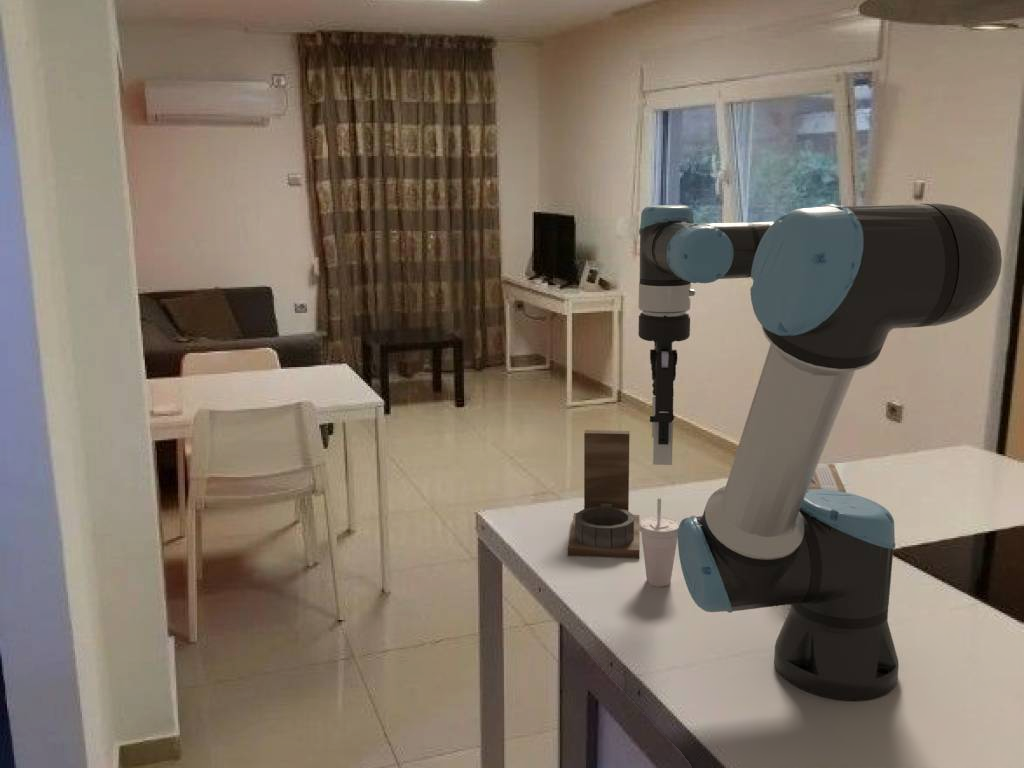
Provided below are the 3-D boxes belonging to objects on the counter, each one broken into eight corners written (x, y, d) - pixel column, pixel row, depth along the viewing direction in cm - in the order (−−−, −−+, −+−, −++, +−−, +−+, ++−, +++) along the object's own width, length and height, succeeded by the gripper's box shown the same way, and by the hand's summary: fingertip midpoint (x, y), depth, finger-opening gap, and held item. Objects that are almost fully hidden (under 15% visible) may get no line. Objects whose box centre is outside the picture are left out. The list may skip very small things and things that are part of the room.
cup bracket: (639, 558, 155) (641, 458, 151) (567, 555, 156) (567, 456, 152) (639, 522, 170) (640, 431, 166) (574, 520, 172) (573, 429, 168)
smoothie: (632, 585, 145) (633, 500, 141) (646, 569, 150) (647, 488, 147) (671, 593, 142) (674, 507, 139) (684, 577, 147) (686, 493, 144)
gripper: (695, 326, 124) (690, 477, 129) (686, 299, 148) (682, 427, 153) (638, 326, 125) (636, 476, 130) (638, 299, 149) (636, 426, 154)
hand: (661, 450), depth 141 cm, fingers open, 13 cm apart
